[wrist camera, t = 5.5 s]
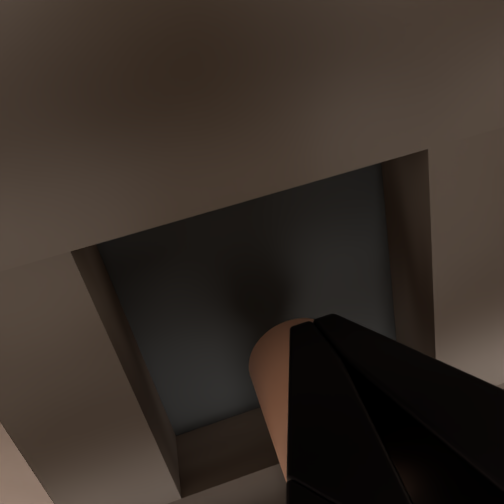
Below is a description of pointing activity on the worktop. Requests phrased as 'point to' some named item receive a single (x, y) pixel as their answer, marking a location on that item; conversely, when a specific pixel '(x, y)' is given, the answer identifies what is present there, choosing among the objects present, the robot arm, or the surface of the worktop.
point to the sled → (274, 383)
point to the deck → (232, 219)
